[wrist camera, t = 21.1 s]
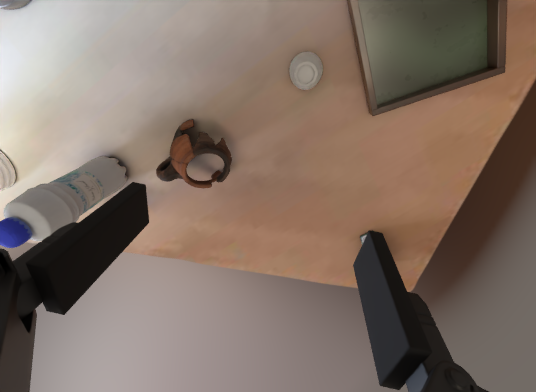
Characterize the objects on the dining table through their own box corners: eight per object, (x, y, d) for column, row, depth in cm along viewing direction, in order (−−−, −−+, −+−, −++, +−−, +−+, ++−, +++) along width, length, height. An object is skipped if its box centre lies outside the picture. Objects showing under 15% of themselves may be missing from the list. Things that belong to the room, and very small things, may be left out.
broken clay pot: (203, 103, 39) (213, 131, 33) (235, 145, 46) (247, 174, 40) (140, 145, 40) (139, 178, 35) (180, 179, 47) (185, 212, 42)
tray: (333, -66, 28) (335, -74, 26) (495, -154, 24) (511, -172, 22) (369, 113, 36) (372, 116, 34) (493, 71, 32) (505, 72, 30)
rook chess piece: (302, 95, 36) (301, 105, 29) (282, 67, 35) (276, 71, 28) (329, 72, 34) (335, 77, 27) (309, 42, 33) (310, 40, 26)
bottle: (138, 183, 47) (40, 259, 30) (108, 188, 48) (-3, 264, 31) (120, 149, 44) (0, 211, 27) (89, 155, 45) (-45, 218, 28)
